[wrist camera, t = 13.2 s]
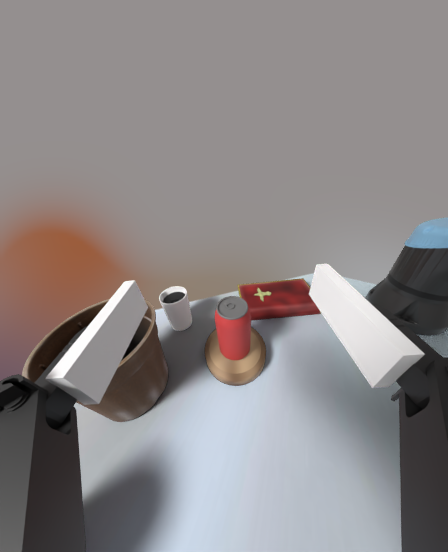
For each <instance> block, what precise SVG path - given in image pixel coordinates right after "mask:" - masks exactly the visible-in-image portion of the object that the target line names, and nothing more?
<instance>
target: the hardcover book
mask: <svg viewBox="0 0 448 552" xmlns="http://www.w3.org/2000/svg"><path fill="white" fill-rule="evenodd" d="M310 288H311V287H310V286H309V285H308V284H307V282H306V281H305V280H304V279H293V280H282V281H273V282H263V283H252V284H241V285H238V291H239V295H240V298H242V299H244V300H245V301H246V302H247V304H248V308H249V310H250V313H251V320H261V319H272V318H282V317H292V316H303V315H313V314H321V312H320V310H319V309H318V307H317V306H316V304H315V303H314V301H313V300H312V298H311V297H310V295H309V292H310Z"/></svg>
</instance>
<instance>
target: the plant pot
mask: <svg viewBox="0 0 448 552" xmlns="http://www.w3.org/2000/svg"><path fill="white" fill-rule="evenodd" d="M109 300H110V299H109ZM109 300H105V301H102V302H100V303H97V304H95V305H92V306H90V307H88V308H86V309H84V310H82V311H80V312H78V313H76V314H74V315H73V316H71V317H70V318H68V319H66V320H65V321H64V322H62V323H61V324H60V325H58V326H57V327H56V328H54V329H53V330H52V331H51V332H50V333H49V334H48V335H46V336H45V338H44V339H42V341H41V342H40V343H39V344H38V345H37V346H36V347H35V349H34V350H33V351H32V353H31V354H30V356H29V357H28V359H27V361H26V363H25V365H24V369H23V373H22V376H24V377H25V378H27V379H29V380H30V381H32V382H35V381H36V380H37V379H38V378H39V377H40V376H41V375H42V373H43V372H44V371H45V370H46V369H47V367H48V366H49V365H50V364H51V363H52V362H53V360H54V359H55V358H56V357H57V356H58V355H59V353H60V352H62V350H63V349H64V348H65V346H66V345H68V344H69V342H70V341H71V339H72V338H73V337H74V336H75V335H76V334H77V333H78V332H79V331H81V330H82V329H83V328H84V327H88V326H89V324H90V323H91V322H92V321H93V320H94V318H95V317H96V316H97V315H98V313H99V312H100V311H101V310H102V309H103V307H104V306H105V305H106V304H107V302H108V301H109ZM144 300H145V302H146V304H147V306H148V309H147V311H146V313H145V314H144V316H143V318H142V320H141V322H140V324H139V326H138V328H137V330H136V332H135V334H134V336H133V338H132V340H131V342H130V344H129V346H128V348H127V350H126V352H125V354H124V356H123V358H122V360H121V362H120V364H119V366H118V368H117V370H116V372H115V374H114V376H113V378H112V380H111V381H110V383H109V385H108V387H107V389H106V391H105V393H104V395H103V397H102V399H101V401H100V403H99V404H89V405H84V404H82V403H81V402H79V401H78V400H77V401H76V402H77V403H79V404H81V405H83V406H85V407H87V408H89V409H91V410H93V411H95V412H97V413H99V414H101V415H103V416H105V417H107V418H109V419H111V420H113V421H117V422H125V421H129V420H132V419H135V418H137V417H139V416H141V415H142V414H144V413H145V412H147V411H148V410H149V409H150V408H151V407H152V406H153V405H154V404H155V403H156V401H157V399H158V398H159V396H160V395H161V394H162V393H163V391H164V389H165V387H166V384H167V381H168V366H167V363H166V360H165V357H164V353H163V350H162V347H161V344H160V341H159V337H158V329H157V325H156V322H155V320H156V314H155V310H154V307H153V306H152V304H151V303H150V302H149V301H148V300H146V299H144Z"/></svg>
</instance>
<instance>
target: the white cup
mask: <svg viewBox="0 0 448 552" xmlns="http://www.w3.org/2000/svg"><path fill="white" fill-rule="evenodd" d="M159 300H160V302H161V305H162V307H163V309H164V311H165V313H166V316H167V318H168V320H169V322H170V324H171V326H172V328H173V329H174V330H176V331H183V330H185V329H187V328H188V327H190V325H191V324H192V315H191V310H190V305H189V300H188V295H187V291H186V289H185V288H183V287H179V286H176V287H171V288H168V289H166V290H164V291H163V292H162V293H161V294H160V296H159Z"/></svg>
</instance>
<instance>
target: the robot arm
mask: <svg viewBox="0 0 448 552" xmlns="http://www.w3.org/2000/svg"><path fill="white" fill-rule="evenodd" d="M309 295H310V297H311V298H312V300H313V301H314V303H315V304H316V306H317V307H318V309H319V310H320V312H321V313H322V315H323V316H324V317H325V319H326V320H327V322H328V323H329V325H330V326H331V328H332V329H333V331H334V332H335V334H336V335H337V337H338V338H339V340H340V341H341V343H342V344H343V346H344V347H345V349H346V350H347V351H348V353H349V354H350V356H351V357H352V359H353V360H354V362H355V363H356V365H357V366H358V368H359V369H360V371H361V372H362V374H363V375H364V377H365V378H366V380H367V381H368V383H369V384H370V385H371V387H372V388H384V387H390V386H391V385H392V384H393V383H394V382H396V381H397V383H398V384H399V385H400V386H401V387H402V388H401V389H400V390H399V391H397V392H396V393H395V394H394V395H393V396H392V398H391V400H392V401H395V400H397V399H398V398H399V416H400V476H401V536H402V552H448V358H443V357H442V356H441V355H439V354H438V353H437V352H436V351H435V350H433V349H432V348H431V347H430V346H429V345H428V344H427V343H425V342H424V341H423V340H422V339H421V338H420V337H419V336H417V335H416V334H420V335H438V334H441V333H443V332H444V331H445V330H446V329H447V328H448V218H441V219H434V220H429V221H426V222H424V223H422V224H420V225H418V226H417V227H416V228H415V230H414V231H413V233H412V234H411V236H410V237H409V239H408V240H406V242H405V247H404V248H403V250H402V252H401V254H400V255H399V257H398V258H397V260H396V262H395V263H394V265H393V267H392V269H391V270H390V272H389V274H388V276H387V277H386V278H385V279H384V280H383V281H381V282H380V283H379V284H377V285H376V286H375V287H374V288H372V289H371V290H370V291H369V292H368V294H367V296H366V298H364V297H363V296H362V295H361V294H360V293H359V292H358V291H357V290H356V289H354V288H353V287H352V286H351V285H350V284H349V283H348V282H347V281H346V280H345V279H344V278H343V277H342V276H340V275H339V274H338V273H337V272H336V271H335V270H334V269H333V268H332V267H331V266H330V265H329V264H317V265H316V268H315V272H314V276H313V280H312V284H311V288H310V292H309ZM147 309H148V306H147V304H146V302H145V300H144V298H143V296H142V294H141V292H140V290H139V288H138V286H137V284H136V282H135V281H125V282H124V283H123V284H122V285H121V287H120V288H119V289H118V290H117V291H116V293H115V294H114V295H113V296H112V298H111V299H110V300H109V301H108V302H107V304H106V305H105V306H104V307H103V309H102V310H101V311H100V312H99V313H98V315H97V316H96V317H95V318H94V320H93V321H92V322H91V323H90V324H89V326H88V327H84V328H83V329H82V330H81V331H79V332H78V333H77V334H76V335H75V336H74V337H73V338H72V339H71V341H70V342H69V344H68V345H66V346H65V348H64V349H63V350H62V352H60V353H59V355H58V356H57V357H56V358H55V359H54V360H53V362H52V363H51V364H50V365H49V366H48V367H47V369H46V370H45V371H44V372H43V373H42V375H41V376H40V377H39V378H38V379H37V380H36V381H35V382H32V381H30V380H29V379H27V378H25V377H24V376H22V375H19V374H18V375H13V376H10V377H8V378H5V379H3V380H1V381H0V552H86V544H85V529H84V515H83V501H82V487H81V472H80V458H79V444H78V429H77V415H76V409H75V407H73V406H74V404H75V403H76V401H77V400H78V401H79V402H81V403H82V404H84V405H89V404H99V403H100V401H101V399H102V397H103V395H104V393H105V391H106V389H107V387H108V385H109V383H110V381H111V380H112V378H113V376H114V374H115V372H116V370H117V368H118V366H119V364H120V362H121V360H122V358H123V356H124V354H125V352H126V350H127V348H128V346H129V344H130V342H131V340H132V338H133V336H134V334H135V332H136V330H137V328H138V326H139V324H140V322H141V320H142V318H143V316H144V314H145V313H146V311H147Z"/></svg>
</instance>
